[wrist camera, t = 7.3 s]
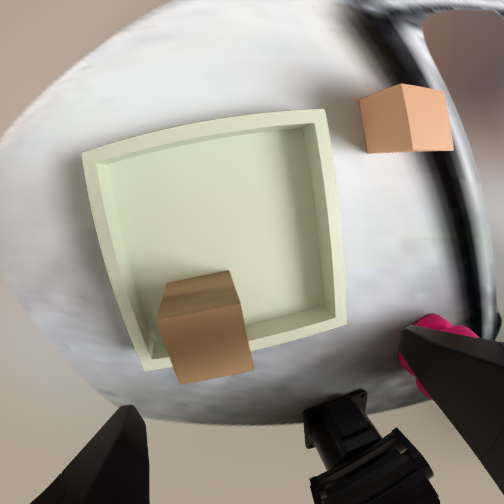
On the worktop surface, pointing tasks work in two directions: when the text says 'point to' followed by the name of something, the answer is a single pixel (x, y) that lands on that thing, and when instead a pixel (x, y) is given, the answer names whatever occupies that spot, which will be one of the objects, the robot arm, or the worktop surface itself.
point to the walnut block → (204, 328)
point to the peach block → (406, 120)
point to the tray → (224, 223)
